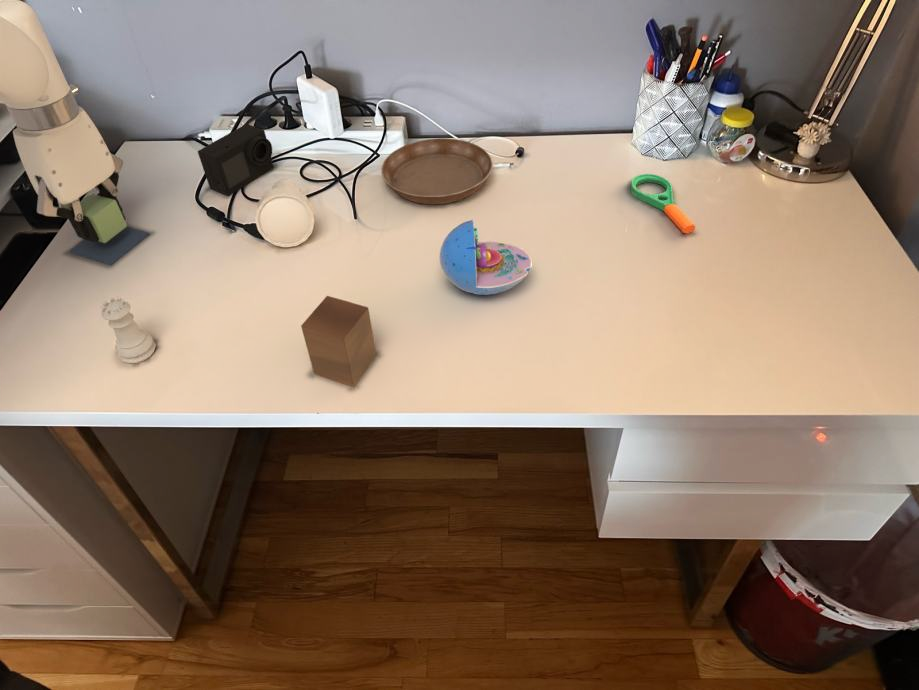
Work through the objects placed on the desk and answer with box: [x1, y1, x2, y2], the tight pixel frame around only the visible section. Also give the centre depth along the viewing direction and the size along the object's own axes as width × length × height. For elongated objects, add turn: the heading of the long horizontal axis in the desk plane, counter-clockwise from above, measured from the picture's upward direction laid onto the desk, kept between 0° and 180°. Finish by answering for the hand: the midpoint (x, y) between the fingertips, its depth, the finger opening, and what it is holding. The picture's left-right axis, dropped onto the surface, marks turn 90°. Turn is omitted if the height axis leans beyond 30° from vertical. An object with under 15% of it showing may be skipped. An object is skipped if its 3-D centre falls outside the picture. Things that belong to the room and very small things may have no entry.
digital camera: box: [197, 123, 275, 197], centre depth 108 cm, size 10×5×7 cm, turn 146°
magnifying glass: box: [630, 173, 696, 234], centre depth 101 cm, size 15×6×2 cm, turn 15°
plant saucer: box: [380, 137, 493, 205], centre depth 108 cm, size 18×18×3 cm
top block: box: [80, 193, 128, 243], centre depth 96 cm, size 4×4×4 cm
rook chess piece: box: [100, 296, 157, 365], centre depth 80 cm, size 4×4×8 cm
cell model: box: [439, 219, 533, 296], centre depth 87 cm, size 10×12×10 cm
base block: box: [300, 295, 377, 388], centre depth 78 cm, size 6×6×8 cm
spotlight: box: [254, 179, 315, 248], centre depth 99 cm, size 8×11×8 cm
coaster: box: [68, 226, 151, 266], centre depth 99 cm, size 8×8×1 cm
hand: (103, 228), depth 97 cm, fingers closed on top block, 4 cm apart
